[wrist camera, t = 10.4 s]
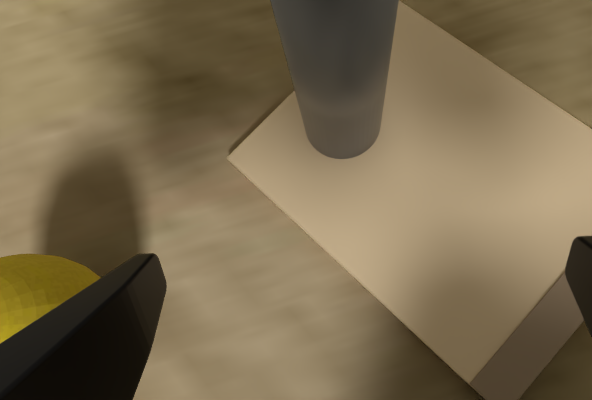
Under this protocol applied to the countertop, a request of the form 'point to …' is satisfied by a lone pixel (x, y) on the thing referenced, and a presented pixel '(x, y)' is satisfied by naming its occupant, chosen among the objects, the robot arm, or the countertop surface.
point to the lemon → (36, 288)
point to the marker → (338, 68)
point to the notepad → (447, 206)
